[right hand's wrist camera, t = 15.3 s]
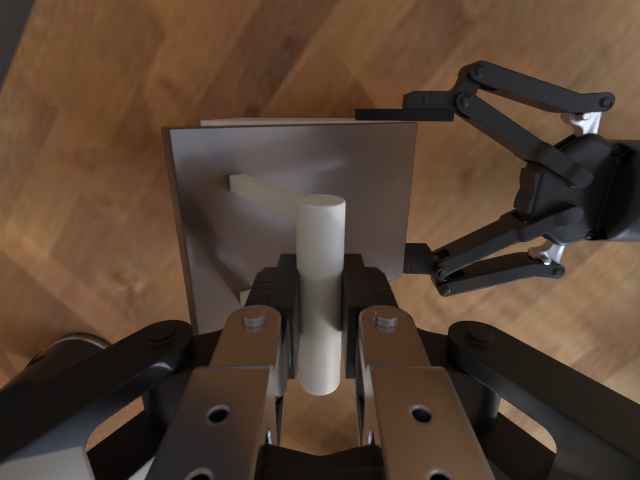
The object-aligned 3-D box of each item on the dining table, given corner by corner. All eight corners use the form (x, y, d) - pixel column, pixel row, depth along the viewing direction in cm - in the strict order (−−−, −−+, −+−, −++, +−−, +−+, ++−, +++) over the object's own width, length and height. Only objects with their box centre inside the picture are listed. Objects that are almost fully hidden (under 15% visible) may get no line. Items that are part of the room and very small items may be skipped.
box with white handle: (193, 341, 17) (269, 471, 11) (160, 126, 13) (245, 140, 7) (390, 270, 24) (499, 323, 18) (402, 121, 21) (543, 126, 15)
